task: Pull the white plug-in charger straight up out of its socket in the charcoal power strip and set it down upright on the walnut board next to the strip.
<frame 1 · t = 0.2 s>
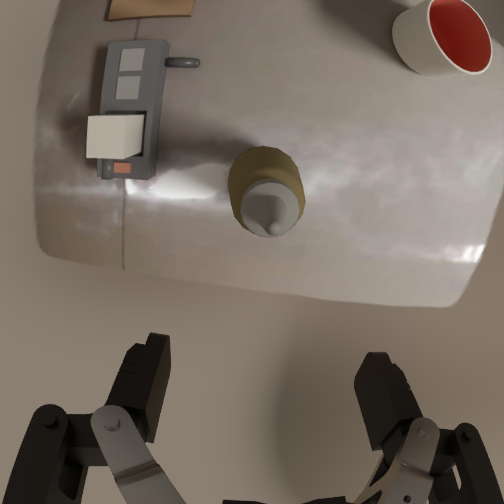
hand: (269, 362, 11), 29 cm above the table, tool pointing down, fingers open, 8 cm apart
squeeze bottle: (262, 175, 37), on the table
charger: (129, 131, 33), point 1 cm above the table, touching power strip
power strip: (134, 108, 32), on the table
cup: (419, 44, 28), on the table
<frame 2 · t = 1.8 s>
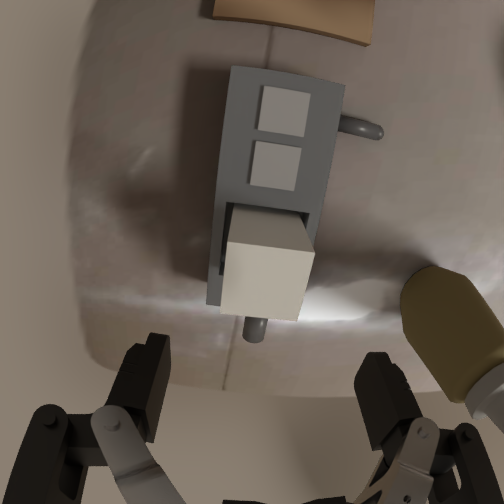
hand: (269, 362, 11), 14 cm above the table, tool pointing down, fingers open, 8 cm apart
squeeze bottle: (423, 289, 26), on the table
charger: (261, 233, 23), point 1 cm above the table, touching power strip
power strip: (267, 191, 22), on the table
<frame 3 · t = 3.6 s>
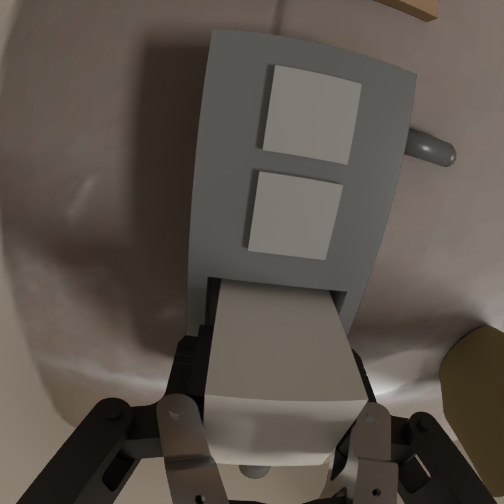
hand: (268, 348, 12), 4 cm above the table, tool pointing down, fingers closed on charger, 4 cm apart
squeeze bottle: (467, 352, 18), on the table
charger: (266, 311, 14), point 1 cm above the table, touching gripper, power strip
power strip: (275, 245, 14), on the table
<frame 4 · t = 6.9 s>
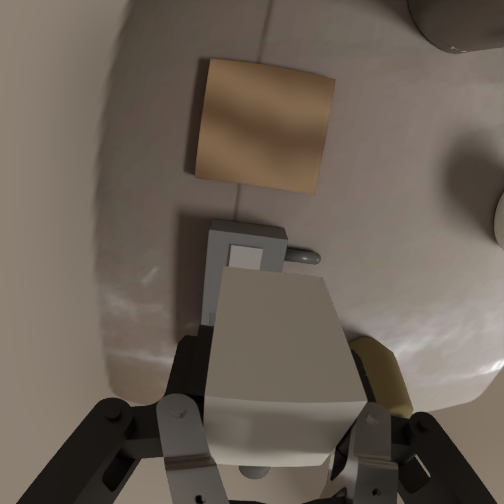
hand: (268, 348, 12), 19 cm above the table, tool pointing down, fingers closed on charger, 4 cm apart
squeeze bottle: (358, 351, 37), on the table
charger: (266, 312, 14), point 16 cm above the table, touching gripper
walnut board: (264, 125, 25), on the table
power strip: (237, 297, 33), on the table
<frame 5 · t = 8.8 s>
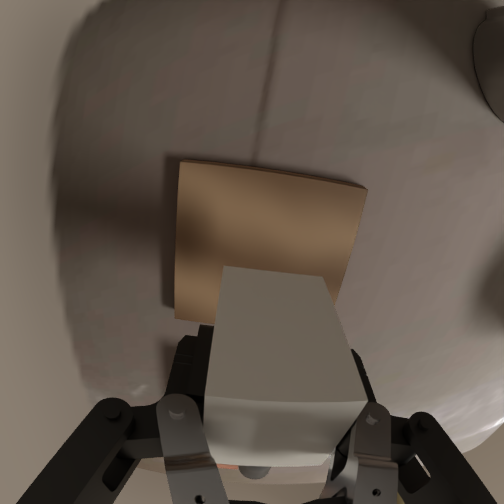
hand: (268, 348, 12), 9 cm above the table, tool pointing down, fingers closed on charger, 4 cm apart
charger: (266, 311, 14), point 6 cm above the table, touching gripper
walnut board: (262, 253, 20), on the table
when the fingers open (5 cm above the table, at t = 10.3 s): charger drops 1 cm, resting on walnut board.
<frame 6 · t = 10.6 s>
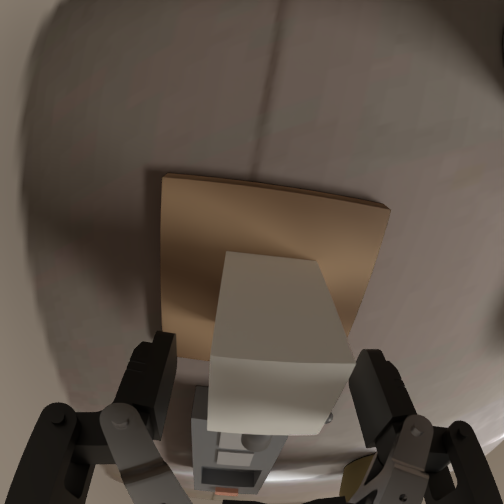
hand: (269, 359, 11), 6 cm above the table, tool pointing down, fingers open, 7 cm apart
squeeze bottle: (365, 461, 29), on the table
charger: (265, 294, 16), point 1 cm above the table, touching walnut board
walnut board: (263, 284, 17), on the table
power strip: (233, 441, 24), on the table
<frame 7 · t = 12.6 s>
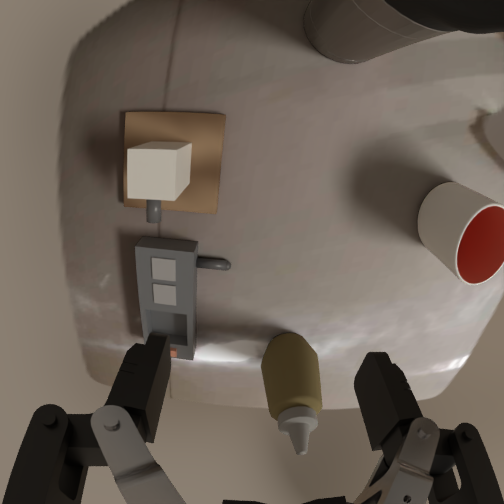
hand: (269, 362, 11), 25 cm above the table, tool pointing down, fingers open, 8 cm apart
squeeze bottle: (287, 345, 44), on the table
charger: (170, 162, 31), point 1 cm above the table, touching walnut board
walnut board: (172, 160, 32), on the table
power strip: (170, 297, 39), on the table
cup: (442, 215, 35), on the table
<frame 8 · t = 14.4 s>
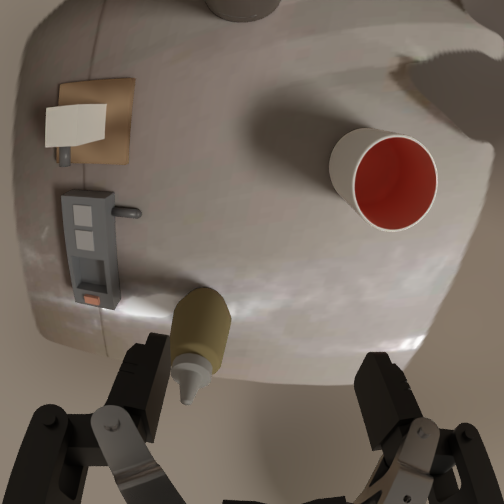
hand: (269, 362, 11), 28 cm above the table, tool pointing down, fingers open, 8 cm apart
squeeze bottle: (205, 302, 44), on the table
charger: (90, 121, 31), point 1 cm above the table, touching walnut board
walnut board: (93, 121, 32), on the table
power strip: (95, 247, 40), on the table
cup: (363, 165, 36), on the table
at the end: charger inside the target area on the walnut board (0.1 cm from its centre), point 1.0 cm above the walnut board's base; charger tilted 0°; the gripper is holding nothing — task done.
